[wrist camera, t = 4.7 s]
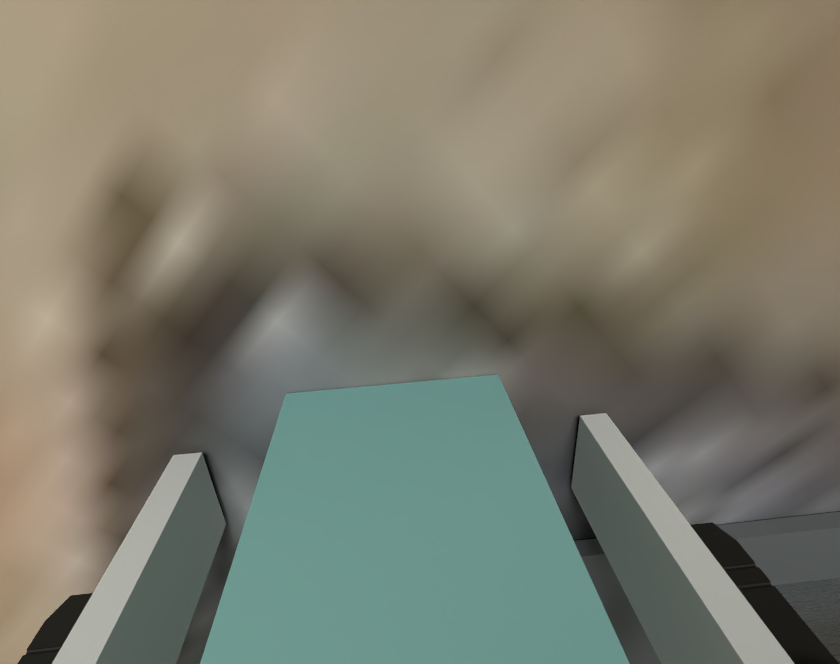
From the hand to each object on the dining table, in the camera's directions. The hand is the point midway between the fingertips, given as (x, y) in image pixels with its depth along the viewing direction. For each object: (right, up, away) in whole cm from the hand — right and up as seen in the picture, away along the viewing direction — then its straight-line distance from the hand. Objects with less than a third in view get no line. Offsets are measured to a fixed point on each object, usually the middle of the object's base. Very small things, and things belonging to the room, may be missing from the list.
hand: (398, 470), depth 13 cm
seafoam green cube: (0, 0, 0) cm, 0 cm away
